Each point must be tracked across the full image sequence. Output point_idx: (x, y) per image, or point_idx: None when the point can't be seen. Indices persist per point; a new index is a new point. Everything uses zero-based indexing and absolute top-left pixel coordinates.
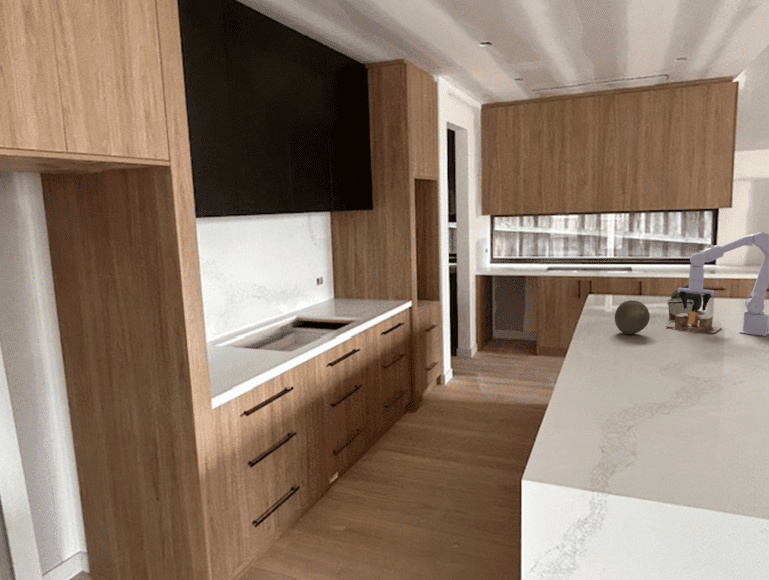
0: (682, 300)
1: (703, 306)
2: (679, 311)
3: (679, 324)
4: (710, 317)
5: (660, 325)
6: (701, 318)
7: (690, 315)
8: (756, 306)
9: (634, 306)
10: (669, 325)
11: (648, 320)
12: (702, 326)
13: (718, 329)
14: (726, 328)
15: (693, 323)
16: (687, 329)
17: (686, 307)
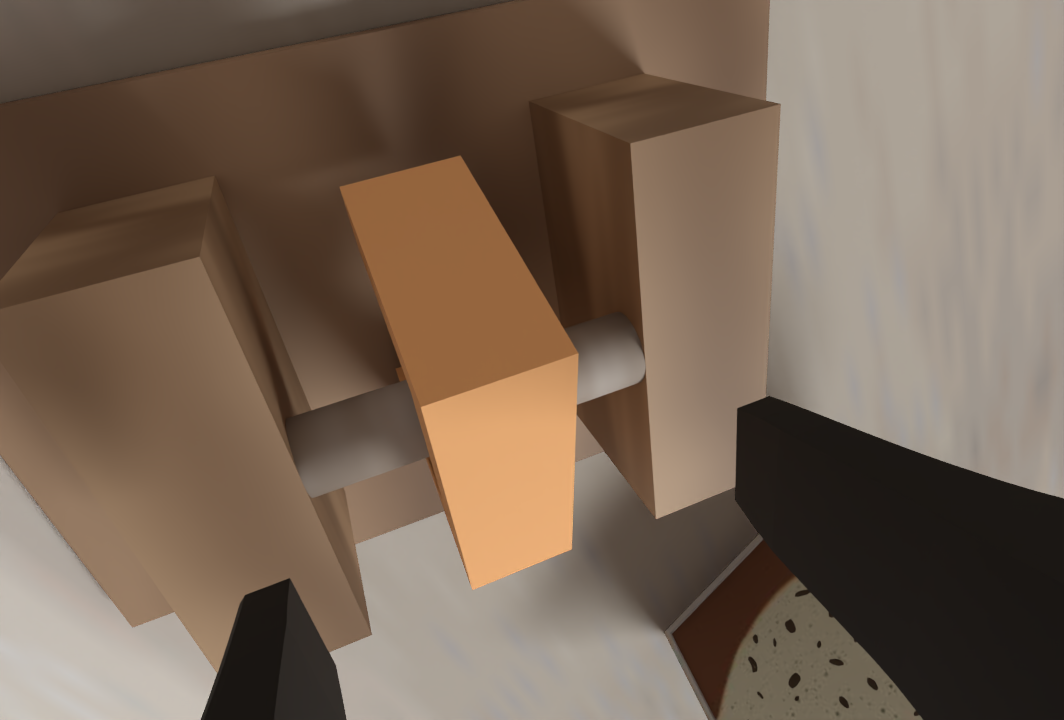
0: (1048, 501)
1: (240, 700)
2: (820, 634)
3: (592, 97)
4: (160, 587)
5: (845, 109)
6: (182, 317)
7: (495, 279)
8: None
9: None
10: (735, 93)
11: None
12: (134, 217)
13: (20, 480)
14: (143, 685)
15: (345, 187)
16: (379, 32)
17: (749, 494)
